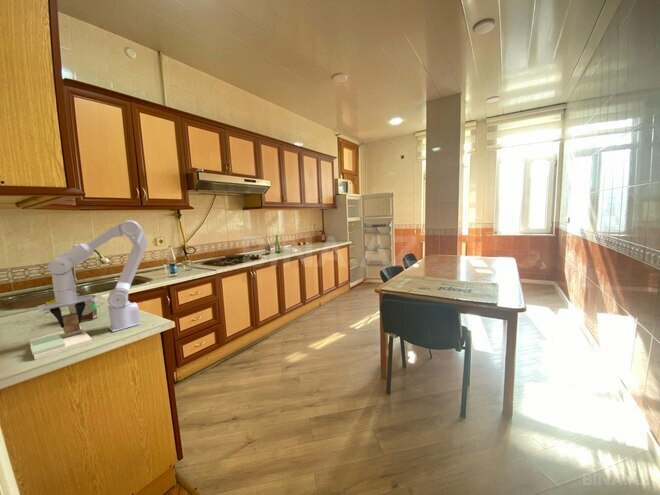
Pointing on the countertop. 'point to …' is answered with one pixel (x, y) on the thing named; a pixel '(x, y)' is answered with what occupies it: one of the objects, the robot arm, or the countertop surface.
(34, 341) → the lid
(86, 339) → the puzzle board
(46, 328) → the countertop surface
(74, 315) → the walnut block
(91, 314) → the food container
